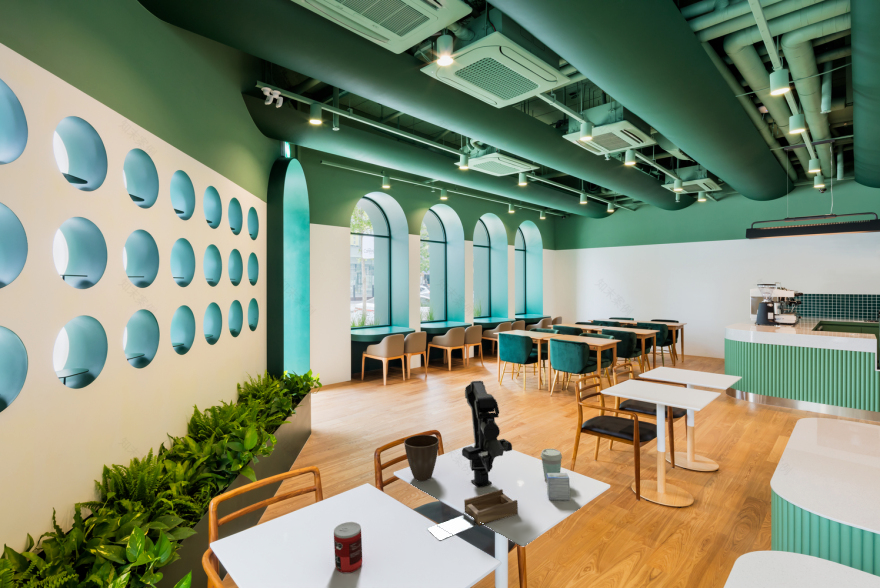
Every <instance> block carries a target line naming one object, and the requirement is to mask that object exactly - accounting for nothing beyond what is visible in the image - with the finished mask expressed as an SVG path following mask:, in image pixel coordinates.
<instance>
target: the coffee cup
mask: <svg viewBox="0 0 880 588" xmlns="http://www.w3.org/2000/svg"><path fill="white" fill-rule="evenodd" d="M540 458H541V462H542V463H541V464H542V469H543V477H544V481H545V483H547V475H546V473H561V468H562V459H563V455H562V453H561V451H560V450H558V449H556V448H544V449H542V450H541V453H540Z"/></svg>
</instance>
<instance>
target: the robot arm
mask: <svg viewBox="0 0 880 588" xmlns="http://www.w3.org/2000/svg"><path fill="white" fill-rule="evenodd" d="M464 396H465V399H466V403H467V405H468V406H469V407H470V410H471V420H472V429H473V430H472V431H473V441H474V442H473V443H474V445H473V446H472V445H470V446H466V447H463V448H462V450H461V455H462V456H463V457H464V458H465V459H466V460H469V468H470V470H471V471H472V472H473V477H474V479H471V480H470V482H471V483H472V484H474V485H475V486H476V487H477V488H482V487H485V486H486V487H487V486H489V485H492V484H493V483H492V481H490V480H489V473H490V472H491V470H493V463H494V460H495V459H496V458H497V457H502V456H504V452H511V451H513V445H512V443H511V442H510V441H508V440H507V439H505V438H502V439H498V437H499V435H500V433H501V429H500V427H499V425H498V424H497V423H496V420H495V418H499V414H500V410H499V405H498V404H499V403H498V402H497V399H496V398H495V397H494V395H493V394H491V393H488V392H487V390H486V385H485V384H484V381H483V380H473V381H470V384H468V385H467V386H465V389H464Z"/></svg>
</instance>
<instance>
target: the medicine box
mask: <svg viewBox="0 0 880 588" xmlns="http://www.w3.org/2000/svg"><path fill="white" fill-rule="evenodd" d="M546 475H547V482H546V493H547V498H548V501H570V500H571V492H570V491H571V490H570V489H571V487H570V477H569V475H568V473H567V472H560V473H546Z"/></svg>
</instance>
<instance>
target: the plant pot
mask: <svg viewBox="0 0 880 588" xmlns="http://www.w3.org/2000/svg"><path fill="white" fill-rule="evenodd" d="M403 443H404V449H405V454H406V459H407V463H408V465H409V468H410V472H411V474H412V476H413V478H414V480H416V481H417V480H418V482H426V481H429V480H431V478H432V477H433V474H434V469H435V467H436V462H437V457H438V452H439V443H440V439H439V438H438V437H437V436H435V435H430V434H417V435H413V436H409V437H407V438H405V439H404V441H403Z"/></svg>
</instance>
